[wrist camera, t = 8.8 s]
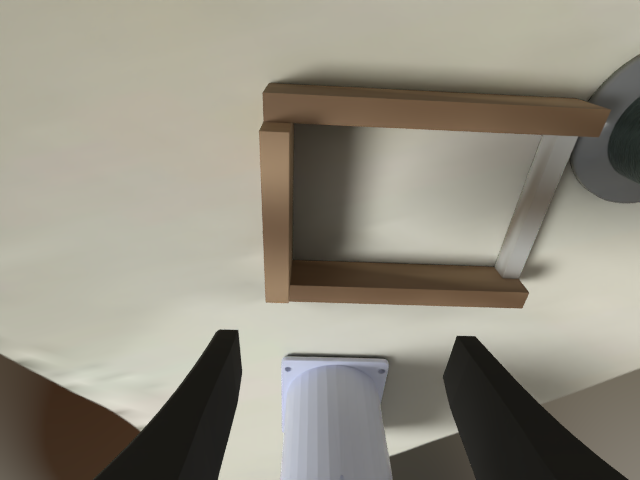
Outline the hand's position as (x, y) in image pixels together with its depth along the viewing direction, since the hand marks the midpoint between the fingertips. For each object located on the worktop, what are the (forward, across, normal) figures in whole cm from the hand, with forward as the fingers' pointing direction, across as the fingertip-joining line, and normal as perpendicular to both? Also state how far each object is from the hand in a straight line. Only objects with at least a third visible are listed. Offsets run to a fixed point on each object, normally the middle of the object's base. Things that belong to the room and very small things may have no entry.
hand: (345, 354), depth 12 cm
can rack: (+10, -4, -1) cm, 11 cm away
